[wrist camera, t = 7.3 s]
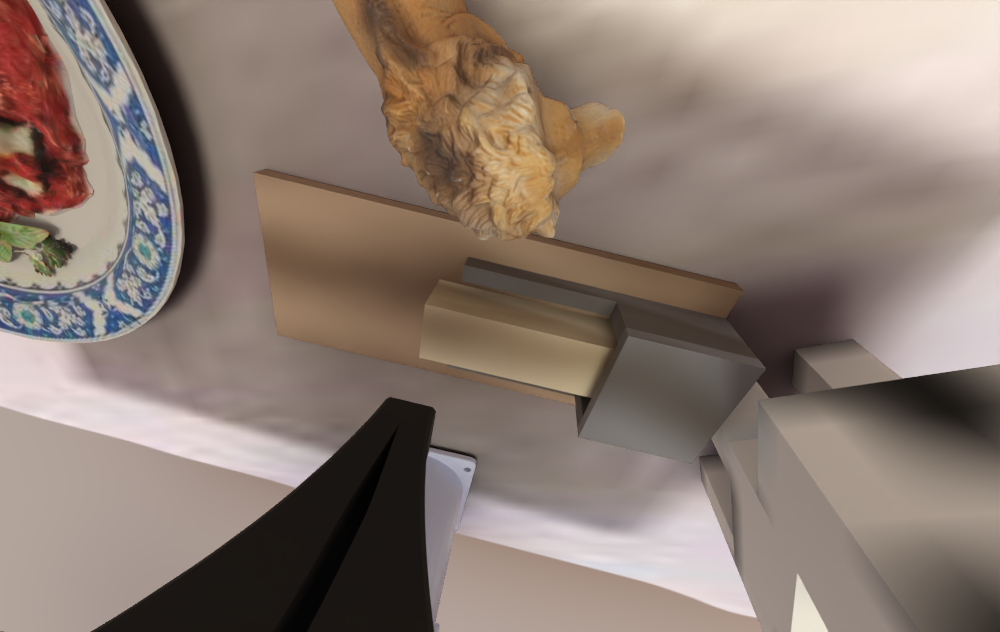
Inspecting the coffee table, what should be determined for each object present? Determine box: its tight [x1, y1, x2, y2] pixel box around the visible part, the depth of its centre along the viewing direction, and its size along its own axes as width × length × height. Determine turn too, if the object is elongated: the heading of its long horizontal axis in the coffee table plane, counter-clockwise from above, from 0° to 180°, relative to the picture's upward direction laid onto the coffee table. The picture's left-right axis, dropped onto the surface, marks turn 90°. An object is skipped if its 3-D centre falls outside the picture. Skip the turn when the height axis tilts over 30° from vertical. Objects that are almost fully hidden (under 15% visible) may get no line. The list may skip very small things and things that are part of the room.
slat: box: [419, 279, 618, 398], centre depth 17 cm, size 3×12×2 cm, turn 78°
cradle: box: [253, 169, 766, 463], centre depth 17 cm, size 9×22×4 cm, turn 78°
